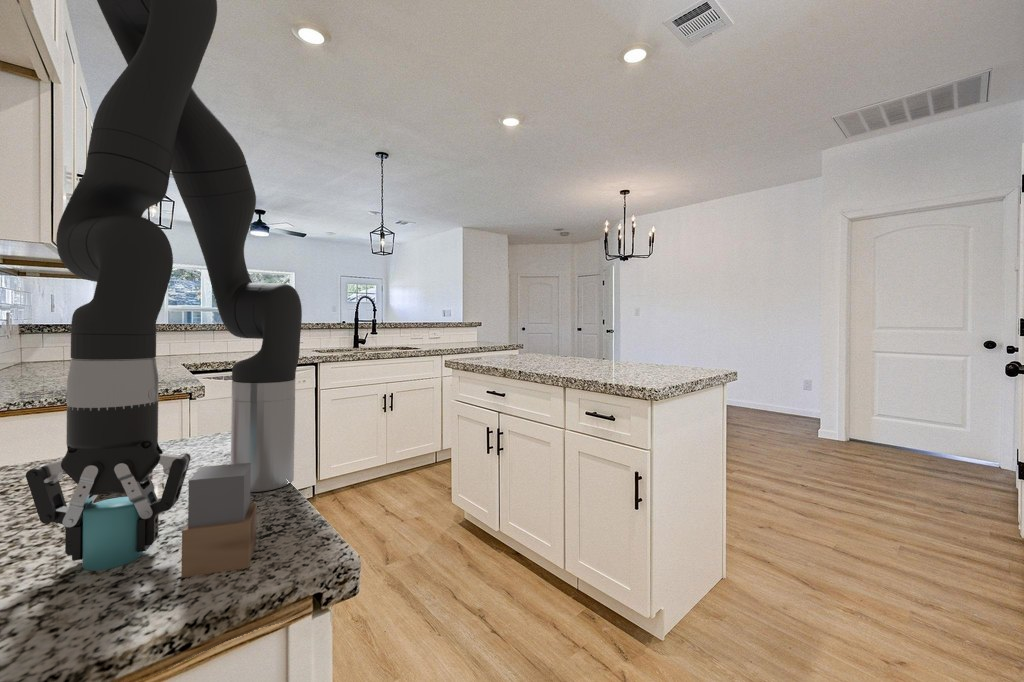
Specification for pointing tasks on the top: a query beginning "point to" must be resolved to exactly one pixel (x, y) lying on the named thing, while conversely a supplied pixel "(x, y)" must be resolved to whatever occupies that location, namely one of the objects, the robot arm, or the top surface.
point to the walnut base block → (219, 546)
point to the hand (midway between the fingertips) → (113, 552)
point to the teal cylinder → (109, 534)
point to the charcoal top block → (219, 494)
